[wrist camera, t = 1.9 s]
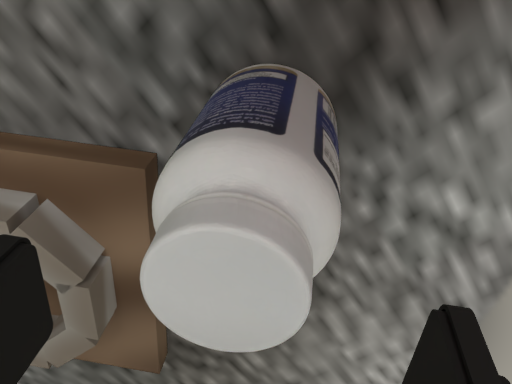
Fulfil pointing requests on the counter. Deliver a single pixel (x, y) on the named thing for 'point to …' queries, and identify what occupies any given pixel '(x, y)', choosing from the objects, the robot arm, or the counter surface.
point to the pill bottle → (246, 213)
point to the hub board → (107, 218)
